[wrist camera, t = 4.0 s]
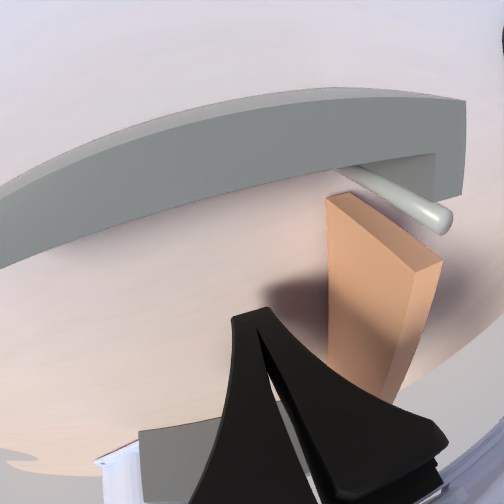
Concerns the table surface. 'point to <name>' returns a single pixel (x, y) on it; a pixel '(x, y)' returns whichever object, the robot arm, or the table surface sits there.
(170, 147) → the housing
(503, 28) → the deodorant
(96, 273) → the table surface
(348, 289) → the door
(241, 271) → the table surface
